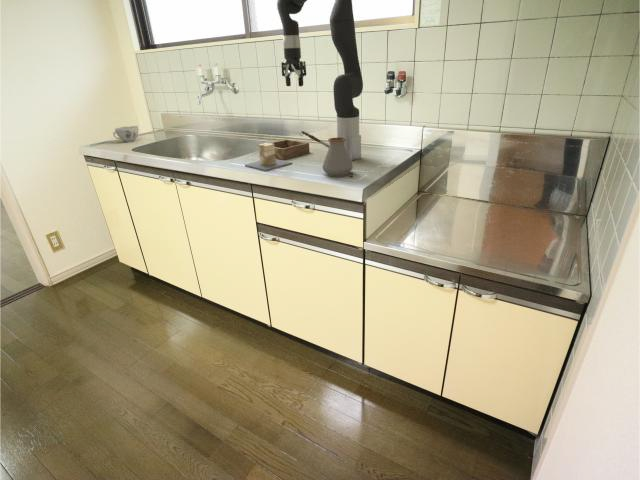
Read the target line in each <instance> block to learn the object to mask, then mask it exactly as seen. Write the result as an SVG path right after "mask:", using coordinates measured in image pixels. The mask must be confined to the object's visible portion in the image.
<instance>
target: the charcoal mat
mask: <svg viewBox="0 0 640 480" xmlns="http://www.w3.org/2000/svg"><path fill="white" fill-rule="evenodd" d="M292 164H293V162H291V161H287V160H283V159H279V158H276V163H275V164H271V165H268V166H267V165H263V164H261V161H260V160H258V161H254V162H249V163H247V164H244V167H247V166H248V168H251V167H252V169H254V168H256V170H258V169H259V171H262V170H263V172H269V171H271V170H275V169H280V168H282V167H286V166H290V165H292Z"/></svg>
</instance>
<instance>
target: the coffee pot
mask: <svg viewBox="0 0 640 480" xmlns="http://www.w3.org/2000/svg"><path fill="white" fill-rule="evenodd" d="M299 135H300V137H302V136H303V135H305V136H306V137H308V138H310V139H311V140H313V141H315V142H316V143H319V144H321V145H323V146H325V147H327V148H328V150H327V151H326V152H327V153H326V155H325V158H324V160H323V164H322V165H321V168H322V170H323V172H324V173H326V174H327V175H328V176H329V177H334V178H335V177H336V178H337V177H338V178H339V177H344V176H348V175H349V173H351V171H352V170H353V168H354V164H353V162H352V161H351V159H350V157H349V155H348V152H347V150H346V148H345V146H344V142H345V140H346V139H345V138H342V137H339V138H337V137H331V138H328V142H329V144H328V143H325V142H323V141H322V140H321V139H319V138H318V137H315V136H314V135H312V134H310V133H308V132H306V131H303V130H302V131H301V132H300V134H299Z"/></svg>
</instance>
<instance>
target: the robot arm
mask: <svg viewBox="0 0 640 480" xmlns="http://www.w3.org/2000/svg"><path fill="white" fill-rule="evenodd" d="M306 2H308V0H276V7H277V8H276V9H277V12H278V15H279V18H280V19H279V20H280V22H281V25H282V35H283V42H282V43H283V54H284V56H283V57H284V60H285V61H282V62H281V63H280V65H281V76H282V77H284V78H285V86H286V87H291V85H292V82H291V75H292V74H293V73H295V74H296V75H297V80H298V87H303V86H304V77H306V76H307V65H306V61H305V60H301V59H302V54H301V53H302V51H301V49H302V47H301V40H300V30H299V29H300V27H299V25H300V24H299V22H298V21H297V20H295V19H293V18H291V16H290V15H298V13H300V12H301V11H302V10H303V8H304V6H305V3H306ZM331 9H332V10H331V12H330V15H329V25H330V27H329V28H330V34H331V35H330V36H331V41H332V43H333V45H334V47H335V49H336V51H337V53H338V55H339V56H340V58H341V61H342V65H343V70H344V72H343V73H344V74H340V75H338V76H337V77H336V78H335V80H334V82H333V102H334V105H333V106H334V110H335V112H336V133H337V134H336V138H339V137H342V138H345V139H346V140H345V142H344V146H345V148H346V150H347V152H348V155H349V157H350V159H351V162H352V161H356V160H358V159H361V158H362V135H360V109H359V108H358V107H356V106H355V105H354V99H356V98H358V97H360V96H361V94H362V92H363V88H364V81H363V76H362V71H361V66H360V61H359V55H358V47H357V46H358V45H357V40H356V39H357V37H356V24H355V19H354V18H355V17H354V12H353V11H354V10H353V9H354V7H353V0H334V3H333V5H332V8H331Z"/></svg>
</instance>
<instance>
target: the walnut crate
mask: <svg viewBox="0 0 640 480" xmlns="http://www.w3.org/2000/svg"><path fill="white" fill-rule="evenodd" d="M271 143H272V144H274V147H275V158H276V159H278V160H283V161H285V160H286V159H288V160H289V159H291V158H295V157H298V156H301V155H305V154H310V142H308V141H307V142H306V141H300V140H293V139H287V138H286V139H281V140H277V141H271Z"/></svg>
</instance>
